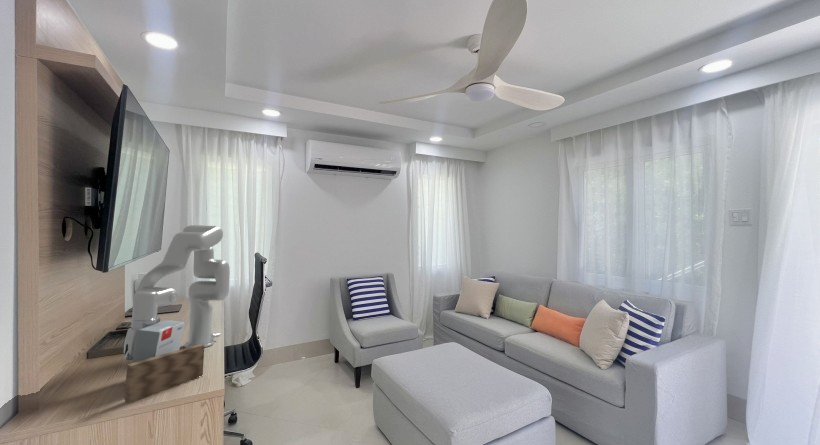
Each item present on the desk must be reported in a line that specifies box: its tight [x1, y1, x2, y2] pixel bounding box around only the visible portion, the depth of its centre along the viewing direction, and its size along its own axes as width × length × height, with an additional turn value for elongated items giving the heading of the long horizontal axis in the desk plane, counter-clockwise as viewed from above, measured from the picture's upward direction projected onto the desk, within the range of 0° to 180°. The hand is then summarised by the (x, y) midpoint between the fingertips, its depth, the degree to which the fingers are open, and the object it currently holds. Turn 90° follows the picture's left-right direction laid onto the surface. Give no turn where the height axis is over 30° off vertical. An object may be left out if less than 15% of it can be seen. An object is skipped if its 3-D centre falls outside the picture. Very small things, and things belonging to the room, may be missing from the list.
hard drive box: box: [131, 319, 185, 363], centre depth 124 cm, size 16×8×20 cm, turn 5°
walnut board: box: [124, 344, 205, 404], centre depth 118 cm, size 24×2×12 cm, turn 154°
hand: (141, 371), depth 125 cm, fingers closed
